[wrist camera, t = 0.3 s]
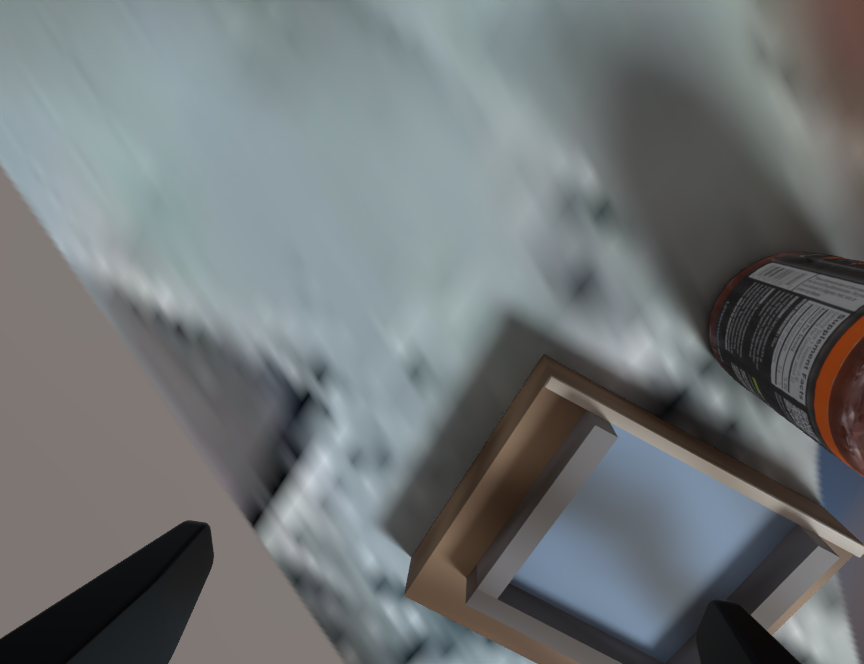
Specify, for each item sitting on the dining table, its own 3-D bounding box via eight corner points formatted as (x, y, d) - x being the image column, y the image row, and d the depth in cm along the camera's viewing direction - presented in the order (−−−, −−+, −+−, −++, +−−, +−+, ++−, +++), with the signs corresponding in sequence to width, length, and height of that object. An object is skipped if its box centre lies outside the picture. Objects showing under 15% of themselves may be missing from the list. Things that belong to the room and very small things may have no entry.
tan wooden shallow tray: (655, 683, 27) (685, 766, 23) (411, 558, 26) (399, 622, 22) (823, 507, 23) (892, 571, 19) (543, 354, 22) (556, 389, 18)
